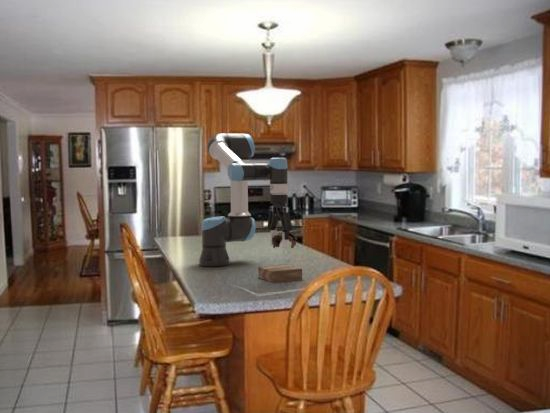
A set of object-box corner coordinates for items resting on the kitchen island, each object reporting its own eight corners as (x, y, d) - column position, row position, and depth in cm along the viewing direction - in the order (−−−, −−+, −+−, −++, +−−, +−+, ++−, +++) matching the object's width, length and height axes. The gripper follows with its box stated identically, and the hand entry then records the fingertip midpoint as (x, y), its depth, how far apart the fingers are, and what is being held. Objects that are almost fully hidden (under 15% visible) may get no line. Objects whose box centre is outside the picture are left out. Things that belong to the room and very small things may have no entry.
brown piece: (279, 246, 249) (288, 230, 247) (293, 257, 243) (303, 241, 242) (263, 243, 239) (272, 226, 238) (277, 254, 234) (287, 237, 232)
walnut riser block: (258, 278, 245) (258, 266, 245) (287, 275, 251) (286, 264, 251) (272, 283, 232) (272, 271, 232) (302, 280, 239) (302, 268, 238)
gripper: (259, 193, 248) (259, 244, 249) (284, 194, 228) (285, 249, 230) (273, 193, 251) (274, 243, 253) (300, 194, 232) (300, 248, 233)
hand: (279, 246), depth 241 cm, fingers closed on brown piece, 9 cm apart
